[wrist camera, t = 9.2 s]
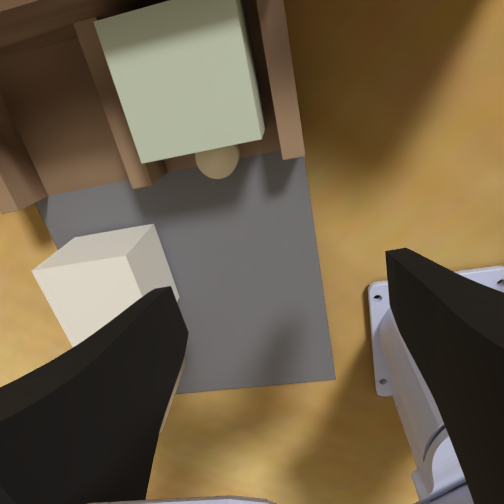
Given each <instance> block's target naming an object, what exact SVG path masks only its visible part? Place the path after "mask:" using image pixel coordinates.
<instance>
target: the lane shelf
mask: <svg viewBox="0 0 504 504" xmlns="http://www.w3.org/2000/svg"><path fill="white" fill-rule="evenodd" d="M165 1H169V0H0V212H1V214H5V213H10V212H16V211H20V210H22V209H24V208H26V207H28V206H29V205H31V204H33V203H35V202H37V201H39V200H41V199H43V198H45V197H47V196H50V195H55V194H60V193H65V192H70V191H76V190H81V189H86V188H91V187H96V186H101V185H106V184H111V183H116V182H121V181H126V180H130V183H131V186H132V189H135V188H140V187H146V186H151V185H153V184H154V183H156V182H157V181H158V180H159V179H160V178H162V177H163V176H164V175H165V174H166V173H168V172H172V171H177V170H182V169H187V168H192V167H197V163H196V159H195V153H192V154H187V155H182V156H177V157H172V158H167V159H162V160H157V161H152V162H147V163H142V164H141V161H140V158H139V155H138V152H137V149H136V146H135V143H134V140H133V137H132V134H131V131H130V128H129V125H128V123H127V120H126V117H125V114H124V111H123V108H122V105H121V102H120V99H119V96H118V93H117V90H116V87H115V84H114V81H113V78H112V75H111V72H110V69H109V67H108V64H107V61H106V58H105V55H104V52H103V49H102V46H101V43H100V40H99V37H98V34H97V31H96V28H95V25H94V21H98V20H101V19H105V18H108V17H112V16H115V15H119V14H123V13H126V12H130V11H133V10H137V9H140V8H144V7H148V6H151V5H155V4H158V3H162V2H165ZM242 2H243V3H244V6H245V12H246V17H247V23H248V28H249V34H250V39H251V45H252V50H253V56H254V61H255V67H256V72H257V78H258V84H259V89H260V95H261V100H262V106H263V111H264V117H265V122H266V128H265V131H264V134H263V137H262V139H260V140H255V141H250V142H246V143H241V144H238V146H239V149H240V158H243V157H248V156H253V155H258V154H263V153H268V152H273V151H279V150H281V152H282V158H283V160H286V159H291V158H297V157H302V156H305V149H304V142H303V135H302V128H301V120H300V113H299V106H298V99H297V92H296V85H295V78H294V71H293V64H292V56H291V49H290V42H289V35H288V28H287V21H286V14H285V7H284V0H242Z"/></svg>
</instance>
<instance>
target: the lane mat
mask: <svg viewBox="0 0 504 504" xmlns="http://www.w3.org/2000/svg"><path fill="white" fill-rule="evenodd" d="M35 204H36V206H37V208H38V210H39V212H40V214H41V216H42V218H43V220H44V222H45V224H46V226H47V229H48V231H49V233H50V235H51V237H52V239H53V241H54V243H55V245H56V247H57V249H58V250H59V249H60V248H62V247H63V246H64V245H65V244H67V243H68V242H69V241H71V240H72V239H73V238H74V237H80V236H85V235H91V234H97V233H103V232H108V231H114V230H120V229H126V228H131V227H137V226H143V225H149V224H154V225H155V228H156V231H157V234H158V237H159V240H160V242H161V245H162V248H163V251H164V254H165V257H166V260H167V262H168V265H169V268H170V271H171V274H172V277H173V280H174V283H175V285H176V288H177V291H178V294H179V299H178V302H177V303H178V306H179V308H180V311H181V314H182V316H183V319H184V322H185V324H186V327H187V329H188V332H189V334H188V340H187V346H186V351H185V356H184V357H185V360H186V363H185V367H184V370H183V373H182V376H181V378H180V381H179V384H178V387H177V390H176V393H175V394H182V393H193V392H204V391H216V390H227V389H238V388H249V387H260V386H272V385H283V384H294V383H305V382H316V381H327V380H336V377H335V370H334V363H333V355H332V348H331V341H330V334H329V327H328V320H327V313H326V306H325V299H324V292H323V285H322V278H321V271H320V264H319V257H318V250H317V243H316V236H315V229H314V222H313V215H312V208H311V201H310V194H309V187H308V180H307V173H306V166H305V158H304V156H302V157H297V158H291V159H286V160H283V158H282V152H281V150H279V151H273V152H268V153H263V154H258V155H253V156H248V157H243V158H239V161H238V163H237V165H236V167H235V169H234V171H233V172H232V173H231V174H230V175H229V176H227V177H225V178H222V179H213V178H210V177H208V176H206V175H205V174H203V173H202V172H201V171H200V169H199V168H198V166H197V167H192V168H187V169H182V170H177V171H172V172H168V173H166V174H165V175H164V176H163V177H162V178H160V179H159V180H158V181H157V182H156V183H154V184H153V185H151V186H146V187H140V188H135V189H132V186H131V183H130V180H126V181H121V182H116V183H111V184H106V185H101V186H96V187H91V188H86V189H81V190H76V191H70V192H65V193H60V194H55V195H50V196H47V197H45V198H43V199H41V200H39V201H37V202H35Z"/></svg>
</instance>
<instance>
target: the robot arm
mask: <svg viewBox="0 0 504 504" xmlns="http://www.w3.org/2000/svg"><path fill="white" fill-rule="evenodd" d="M385 252H386V265H387V278H388V280H386V281H378V282H373V283H371V284H370V285H369V286H368V301H369V314H370V327H371V339H372V352H373V365H374V377H375V389H376V392H377V394H378V395H379V396H393V399H394V402H395V405H396V408H397V411H398V414H399V417H400V420H401V423H402V426H403V428H404V431H405V434H406V437H407V440H408V443H409V446H410V449H411V452H412V455H413V458H414V461H415V464H416V467H417V470H415V471H414V472H413V473H412V474H411V475H412V479H413V482H414V485H415V488H416V491H417V494H418V497H419V500H420V501H418V502H416V503H414V504H504V266H493V267H485V268H478V269H470V270H462V271H455V272H453V271H451V270H449V269H447V268H445V267H443V266H441V265H439V264H437V263H435V262H433V261H431V260H429V259H427V258H425V257H423V256H422V255H420V254H418V253H416V252H414V251H412V250H410V249H407V248H402V249H396V250H390V251H385ZM502 279H503V280H502ZM499 280H502V282H500V283H498V284H497V282H498V281H499ZM376 295H380V297H379V298H377V299H375V298H374V296H376ZM188 334H189V332H188V329H187V327H186V324H185V322H184V319H183V316H182V314H181V311H180V308H179V306H178V303H177V301H176V298H175V295H174V293H173V290H172V288H171V286H168V287H162V288H156V289H153V290H152V291H150V292H148V293H147V294H145V295H144V296H143V297H141V298H140V299H139V300H137V301H136V302H135V303H133V304H132V305H131V306H129V307H128V308H127V309H126V310H124V311H123V312H122V313H120V314H119V315H118V316H116V317H115V318H114V319H113V320H111V321H110V322H109V323H107V324H106V325H105V326H103V327H102V328H100V329H99V330H98V331H96V332H95V333H93V334H92V335H91V336H89V337H88V338H87V339H85V340H84V341H82V342H81V343H79V344H78V345H76V346H75V347H73V348H72V349H70V350H68V351H67V352H65V353H64V354H62V355H60V356H59V357H57V358H55V359H54V360H52V361H50V362H49V363H47V364H45V365H43V366H41V367H39V368H37V369H36V370H34V371H32V372H30V373H28V374H26V375H24V376H23V377H21V378H19V379H17V380H15V381H13V382H11V383H9V384H7V385H4V386H2V387H0V504H276V503H273V502H271V501H269V500H267V499H260V498H251V497H241V496H214V497H195V498H176V499H158V500H145V499H146V493H147V488H148V483H149V478H150V473H151V468H152V463H153V458H154V454H155V450H156V445H157V441H158V437H159V432H160V428H161V425H162V422H163V418H164V415H165V412H166V409H167V407H168V404H169V401H170V398H171V395H172V392H173V389H174V386H175V384H176V381H177V378H178V375H179V372H180V369H181V366H182V363H183V360H184V356H185V351H186V346H187V340H188ZM381 379H384V380H381Z"/></svg>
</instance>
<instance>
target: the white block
mask: <svg viewBox="0 0 504 504" xmlns="http://www.w3.org/2000/svg"><path fill="white" fill-rule="evenodd" d="M32 273H33V275H34V277H35V278H36V280H37V282H38V284H39V286H40V288H41V289H42V291H43V293H44V295H45V297H46V299H47V301H48V302H49V304H50V306H51V308H52V310H53V312H54V313H55V315H56V317H57V319H58V321H59V323H60V325H61V326H62V328H63V330H64V332H65V334H66V336H67V337H68V339H69V341H70V343H71V345H72V347H75V346H76V345H78V344H79V343H81V342H82V341H84V340H85V339H87V338H88V337H89V336H91V335H92V334H93V333H95V332H96V331H98V330H99V329H100V328H102V327H103V326H105V325H106V324H107V323H109V322H110V321H111V320H113V319H114V318H115V317H116V316H118V315H119V314H120V313H122V312H123V311H124V310H126V309H127V308H128V307H129V306H131V305H132V304H133V303H135V302H136V301H137V300H139V299H140V298H141V297H143V296H144V295H145V294H147V293H148V292H150V291H152V290H153V289H156V288H162V287H168V286H171V288H172V290H173V293H174V295H175V298H176V301H177V302H178V299H179V294H178V291H177V288H176V285H175V283H174V280H173V277H172V274H171V271H170V268H169V265H168V262H167V260H166V257H165V254H164V251H163V248H162V245H161V242H160V240H159V237H158V234H157V231H156V228H155V225H154V224H149V225H143V226H137V227H131V228H126V229H120V230H114V231H108V232H103V233H97V234H91V235H85V236H80V237H74V238H73V239H72V240H71V241H69V242H68V243H67V244H65V245H64V246H63V247H62V248H60V249H59V250H58V251H56V252H55V253H54V254H52V255H51V256H50V257H49V258H47V259H46V260H45V261H43V262H42V263H41V264H40V265H38V266H37V267H36V268H34V269H33V270H32ZM185 363H186V360H185V357H184V360H183V363H182V366H181V369H180V372H179V375H178V378H177V381H176V384H175V386H174V389H173V392H172V395H171V398H170V401H169V404H168V407H167V409H166V412H165V415H164V418H163V422H162V425H161V428H160V432H159V434H160V433H161V432H162V431H163V428H164V425H165V423H166V420H167V417H168V414H169V411H170V408H171V405H172V402H173V399H174V396H175V393H176V390H177V387H178V384H179V381H180V378H181V376H182V373H183V370H184V367H185Z"/></svg>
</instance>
